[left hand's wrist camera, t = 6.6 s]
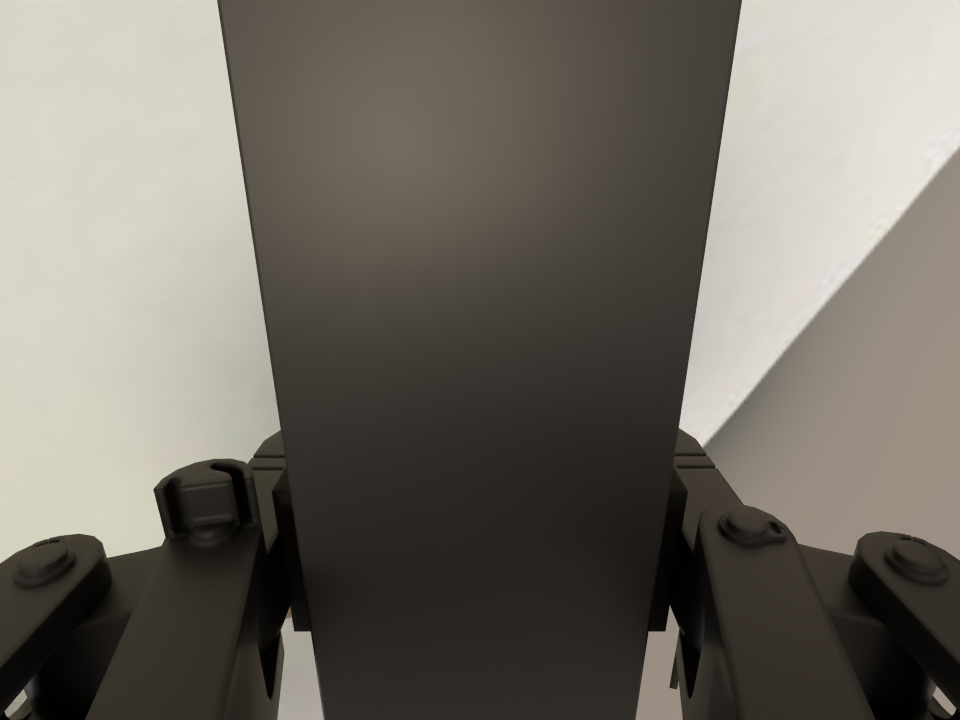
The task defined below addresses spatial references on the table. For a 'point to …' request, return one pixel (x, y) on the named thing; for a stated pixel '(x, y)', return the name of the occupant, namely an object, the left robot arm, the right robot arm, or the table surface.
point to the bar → (479, 329)
